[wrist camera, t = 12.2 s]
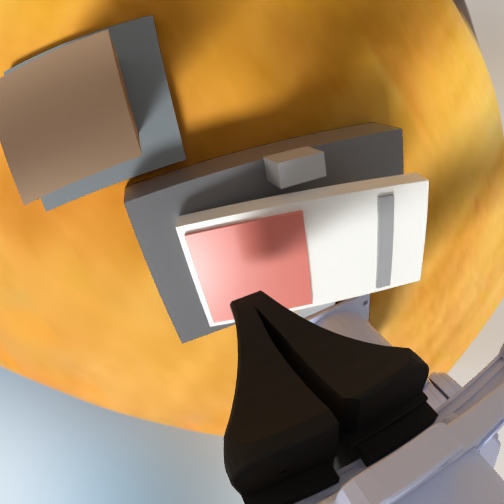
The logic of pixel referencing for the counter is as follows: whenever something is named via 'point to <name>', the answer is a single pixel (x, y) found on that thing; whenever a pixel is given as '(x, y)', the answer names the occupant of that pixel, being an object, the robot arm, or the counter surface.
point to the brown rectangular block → (66, 117)
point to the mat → (133, 110)
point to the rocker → (308, 244)
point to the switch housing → (246, 189)
